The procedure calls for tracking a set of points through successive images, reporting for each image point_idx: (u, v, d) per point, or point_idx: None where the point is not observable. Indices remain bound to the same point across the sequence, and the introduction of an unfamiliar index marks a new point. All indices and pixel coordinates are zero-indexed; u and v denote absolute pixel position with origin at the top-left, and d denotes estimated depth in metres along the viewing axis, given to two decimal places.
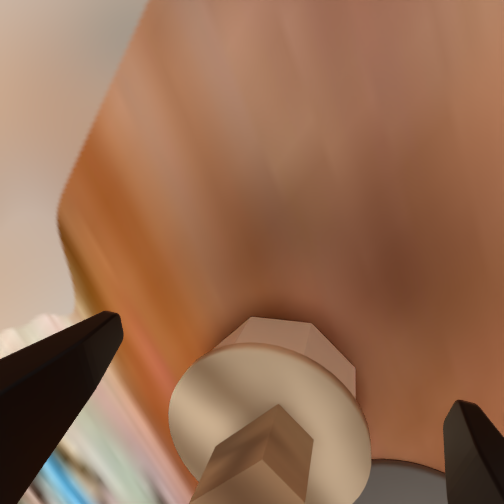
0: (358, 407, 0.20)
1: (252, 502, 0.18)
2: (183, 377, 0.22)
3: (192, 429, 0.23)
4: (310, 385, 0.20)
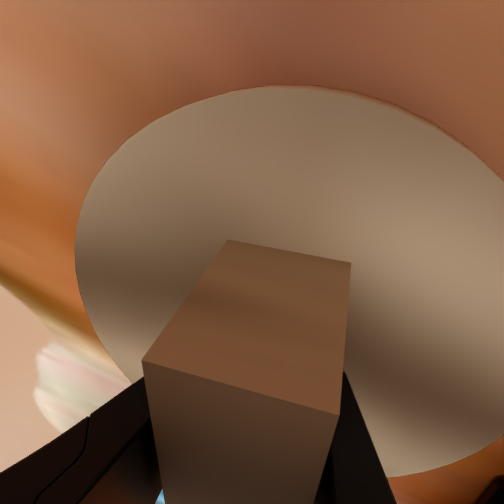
0: (393, 106, 0.07)
1: (241, 479, 0.06)
2: (88, 313, 0.12)
3: None
4: (236, 139, 0.07)
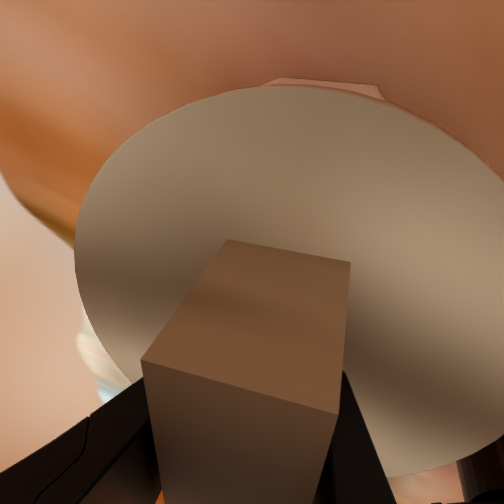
0: (392, 105, 0.07)
1: (240, 478, 0.06)
2: (88, 312, 0.12)
3: None
4: (235, 139, 0.07)
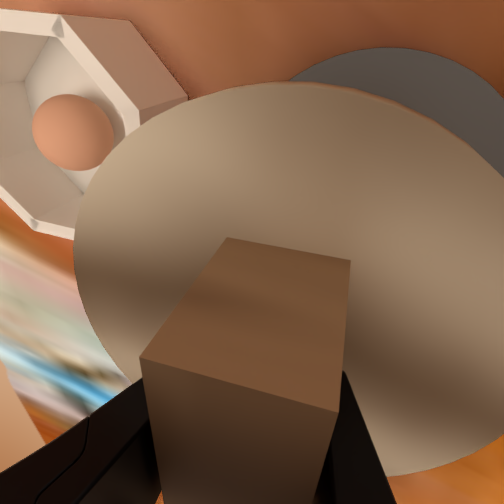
0: (392, 102, 0.07)
1: (240, 476, 0.06)
2: (87, 311, 0.12)
3: None
4: (235, 136, 0.07)
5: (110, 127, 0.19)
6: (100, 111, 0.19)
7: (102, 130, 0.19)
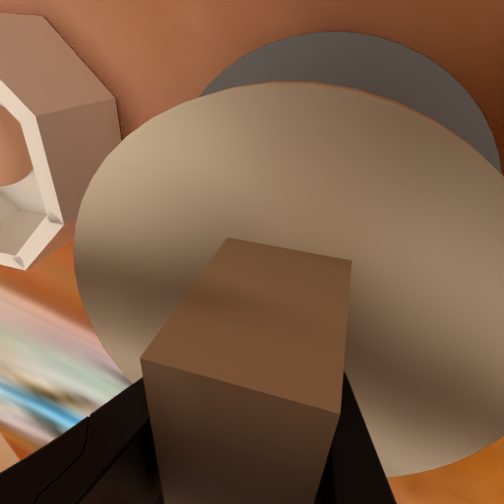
0: (394, 102, 0.07)
1: (241, 478, 0.06)
2: (87, 311, 0.12)
3: None
4: (236, 136, 0.07)
5: None
6: (16, 119, 0.17)
7: (17, 140, 0.16)
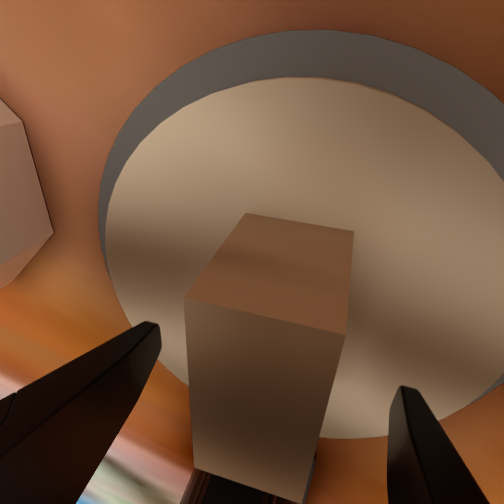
0: (390, 93, 0.08)
1: (262, 405, 0.07)
2: (114, 285, 0.13)
3: None
4: (255, 123, 0.09)
5: None
6: None
7: None
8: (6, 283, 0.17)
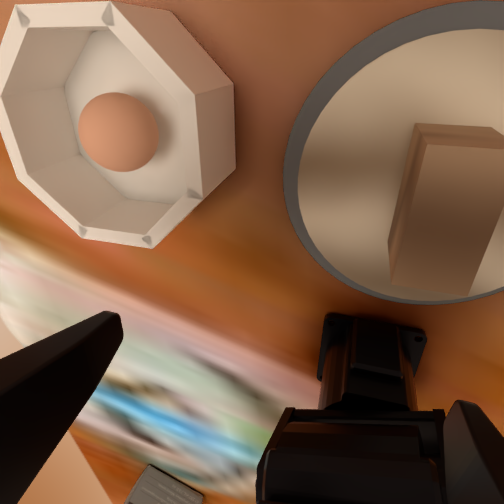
0: None
1: (459, 215, 0.13)
2: (299, 192, 0.19)
3: (351, 243, 0.19)
4: (433, 59, 0.14)
5: (155, 123, 0.19)
6: (145, 107, 0.18)
7: (149, 126, 0.18)
8: None
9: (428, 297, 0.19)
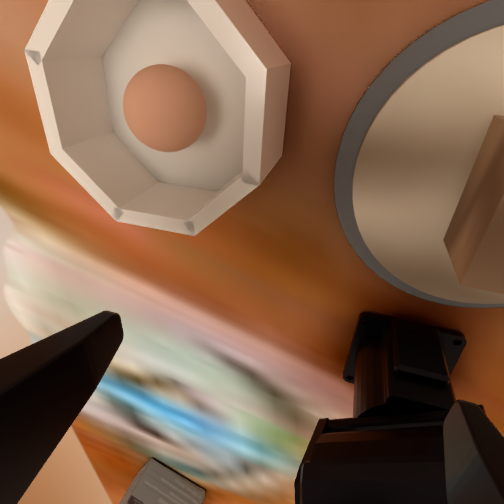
0: None
1: None
2: (354, 183, 0.17)
3: (403, 240, 0.18)
4: None
5: (205, 101, 0.17)
6: (196, 83, 0.17)
7: (201, 103, 0.16)
8: None
9: (477, 300, 0.19)
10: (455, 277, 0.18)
